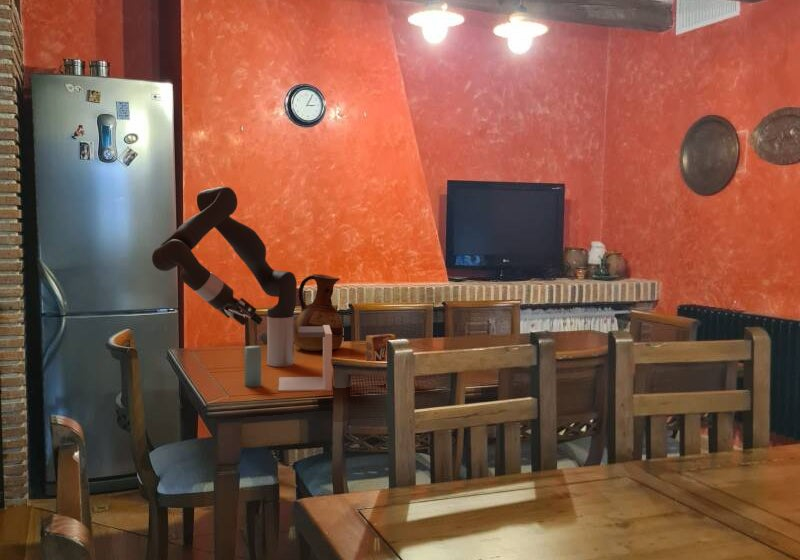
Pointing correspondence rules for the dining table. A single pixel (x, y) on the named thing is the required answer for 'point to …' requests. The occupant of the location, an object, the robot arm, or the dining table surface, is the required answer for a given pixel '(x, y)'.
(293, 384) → the stand
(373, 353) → the candy box
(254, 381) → the post
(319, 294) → the ceramic pitcher
